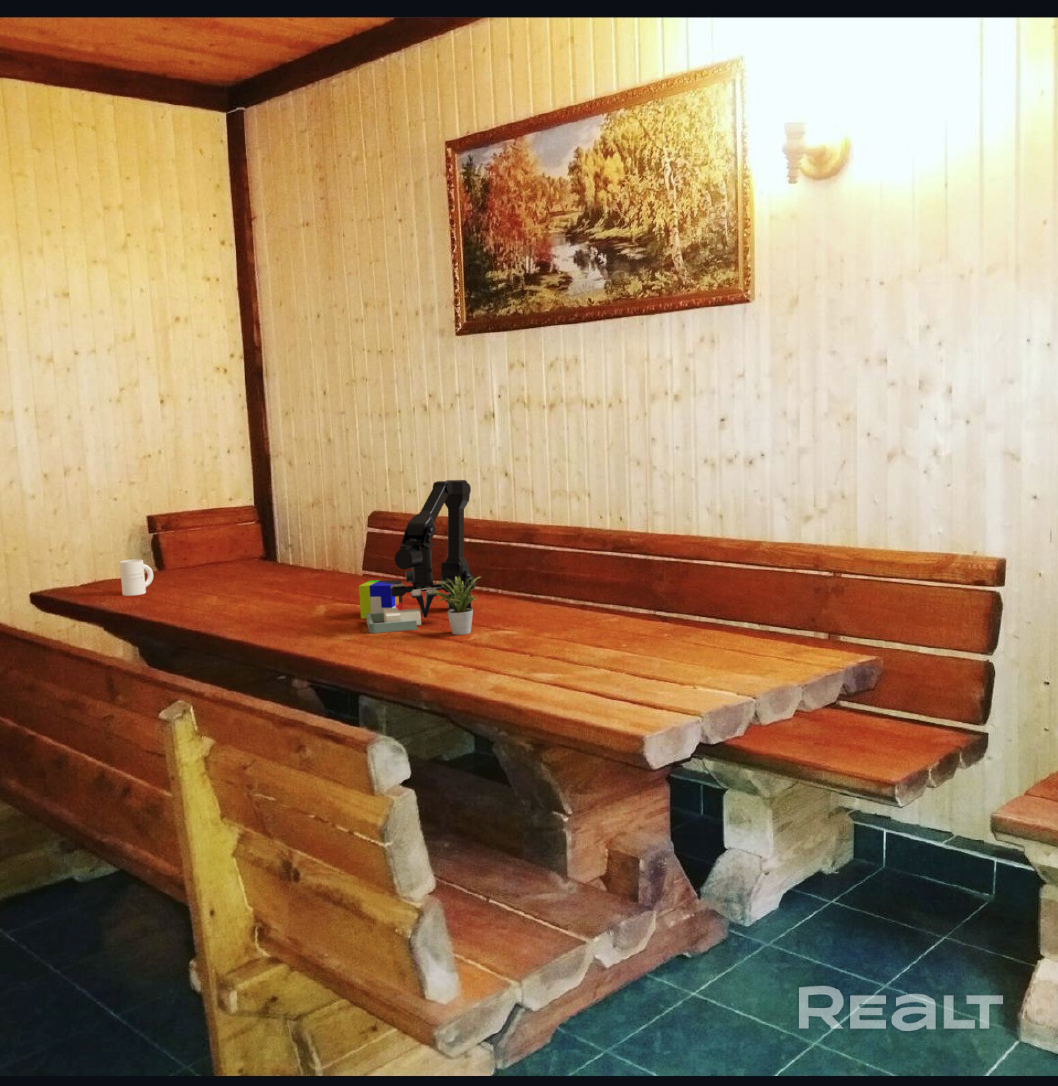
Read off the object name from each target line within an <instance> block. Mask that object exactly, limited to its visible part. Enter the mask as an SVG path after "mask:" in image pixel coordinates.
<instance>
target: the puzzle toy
mask: <svg viewBox="0 0 1058 1086" xmlns="http://www.w3.org/2000/svg"><path fill="white" fill-rule="evenodd" d="M393 584H402V580H401V579H392V580H391V579H389V580H387V579H383V580H382V579H381V580H379V579H377V580H374V579H373V580H369V581H366V582H364V583H362V584H360V585H358V593H359V607H360V611H359V612H360V619H366V614H368V613H381V612H384V611H383V609H390V608H397V609H398V610H404V607H403V606H404V604H403V596H397V597H392V596H391V592H390V586H391V585H393Z"/></svg>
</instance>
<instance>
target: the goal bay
mask: <svg viewBox="0 0 1058 1086" xmlns="http://www.w3.org/2000/svg"><path fill="white" fill-rule="evenodd" d="M365 621H366V625H367V628H368V632H369V634H378V633H393V632H401V631H405V632H406V631H413V630H414V631H415V630H418V625H417V621H416V620H411V621H398V622H386V623H384V612H381V613H368V614H366V620H365Z"/></svg>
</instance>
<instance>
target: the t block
mask: <svg viewBox="0 0 1058 1086" xmlns="http://www.w3.org/2000/svg"><path fill="white" fill-rule="evenodd" d="M383 611H384V621H383V623H386V622H398V621H411V620H416V621H417V626H422V617H421V616H422V615H421V614H422V611H421V608H410V609H403V610H398V609H397V608H390V609H383Z"/></svg>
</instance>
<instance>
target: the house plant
mask: <svg viewBox="0 0 1058 1086" xmlns="http://www.w3.org/2000/svg"><path fill="white" fill-rule="evenodd" d="M472 578H474V576H472ZM480 578H481V576H478V577H475V578H474V580H473V581H472V582H471V583H470V585H469V586H468V588H467V589H466V590H465V592H464V588H465V586H466V583H467V581H468V580H469V579H471V578H469V579H468V580H467V581H466V583H465V585H464V583H463V581H462V586H461V579H460V576H459V579H458V578H457V577H456V576H455V580H456V586H455V585H454V584H453V582H452V581H450V580H449V579H448V578H447V579H448V580H449V581H450V582H451V583H452V585H453V587H454V589H452V588H451V587H450V586H449V585H448V584H447V583H444V582H442V583H444V584H445V586H446V585H447V586H448V587H449V588H450V590H451V591H452V592H453V593H454V595H455V596H453V594H452V593H450V592H451V591H450V590H448V591H449V592H448V593H447V594H449V593H450V594H451V595H452V596H451V597H450V596H449V595H447V594H446V593H443V592H441V591H438V590H437V591H431V592H433V593H437V596H439V597H440V599H438V600H437V602H439V601H445V602H446V603H447V604H448V603H449V604H450V603H451V604H450V605H451V606H452V607H453V606H454V607H453V609H451V610H450V609H448V610H447V617H448V620H449V621H448V622H449V625H450V626H449V627H450V630H451V634H452V635H458V636H460V635H461V636H462V635H468V634H470V633H471V632H472V624H473V623H472V622H473V614H474V609H473V608H472V609H469V608H467V606H468V604H469V603H470V602H471V603H472V602H473V601H477V600H479V597H478V595H476V597H475V595H472V594H471V595H470V596H469V595H468V593H469V590H470V588H471V586H472V585H473V583H474V582H477V580H478V579H480ZM437 582H439V583H438V584H439V585H440V584H441V580H437ZM442 585H443V584H442ZM442 585H441V586H442ZM447 586H446V587H447ZM443 587H444V586H443ZM448 587H447V588H448ZM474 587H475V588H476V585H475V586H474ZM474 587H473V588H474ZM444 588H445V587H444ZM449 588H448V589H449ZM475 588H474V589H475ZM445 589H446V588H445ZM446 590H447V589H446ZM472 591H473V590H470V593H471V592H472ZM470 593H469V594H470ZM461 594H462V598H461ZM467 596H468V597H467ZM452 597H453V598H454V599H453V598H452ZM466 598H467V599H466Z"/></svg>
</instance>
